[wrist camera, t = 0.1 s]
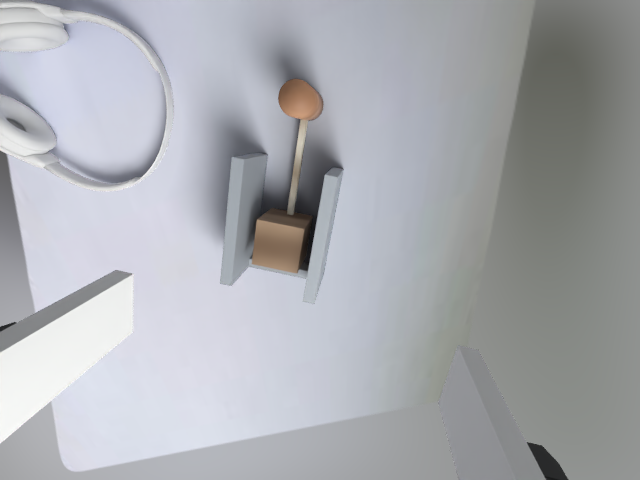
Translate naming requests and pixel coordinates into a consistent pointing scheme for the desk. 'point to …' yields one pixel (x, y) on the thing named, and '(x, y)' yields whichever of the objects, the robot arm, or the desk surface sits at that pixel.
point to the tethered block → (288, 226)
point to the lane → (247, 209)
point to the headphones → (25, 124)
